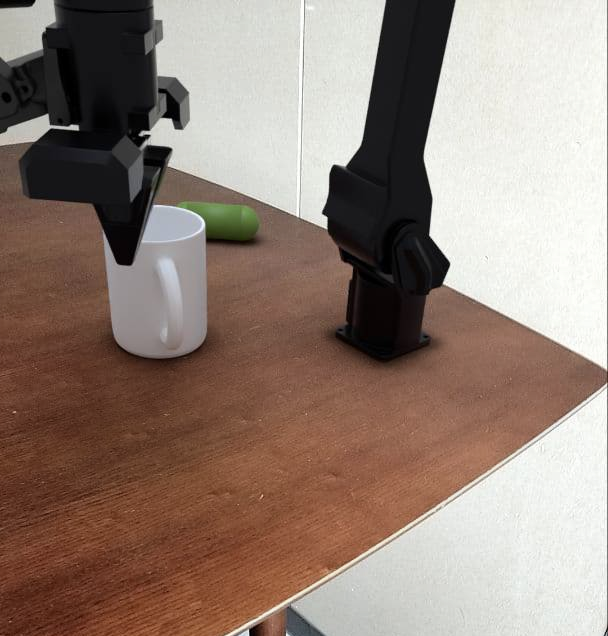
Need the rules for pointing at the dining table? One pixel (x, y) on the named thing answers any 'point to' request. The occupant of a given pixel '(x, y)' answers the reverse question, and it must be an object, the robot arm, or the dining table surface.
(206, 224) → the pickle
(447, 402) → the dining table surface
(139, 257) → the mug
